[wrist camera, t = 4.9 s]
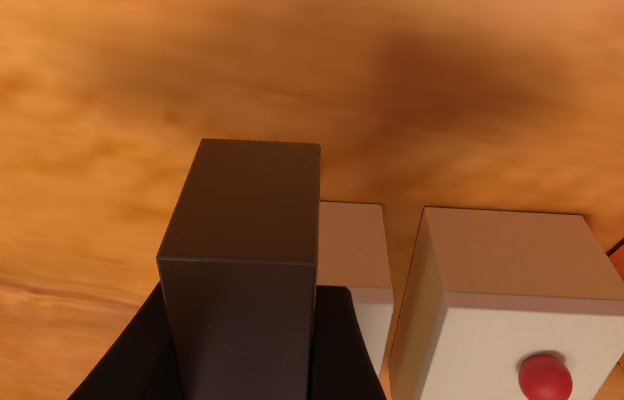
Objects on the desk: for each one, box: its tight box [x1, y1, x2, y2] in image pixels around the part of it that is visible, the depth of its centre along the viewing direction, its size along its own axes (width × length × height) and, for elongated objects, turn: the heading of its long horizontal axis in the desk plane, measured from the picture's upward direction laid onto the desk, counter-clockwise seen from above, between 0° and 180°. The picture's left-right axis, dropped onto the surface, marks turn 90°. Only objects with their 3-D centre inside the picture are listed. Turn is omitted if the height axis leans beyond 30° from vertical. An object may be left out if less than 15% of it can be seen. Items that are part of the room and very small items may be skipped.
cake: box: [388, 207, 624, 400], centre depth 20 cm, size 10×6×6 cm, turn 177°
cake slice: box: [317, 201, 394, 379], centre depth 20 cm, size 10×3×5 cm, turn 177°
